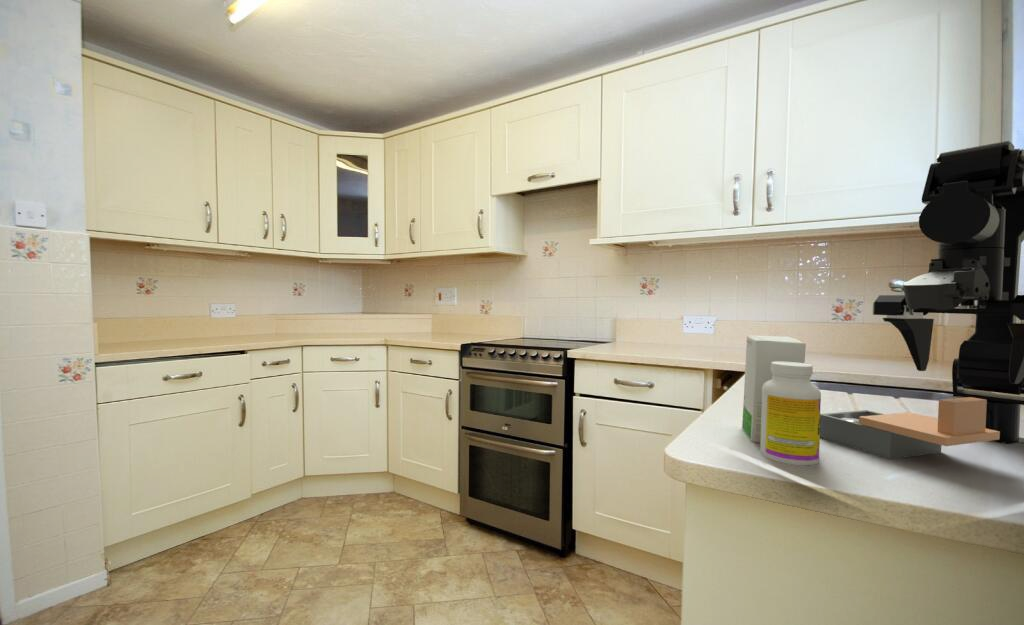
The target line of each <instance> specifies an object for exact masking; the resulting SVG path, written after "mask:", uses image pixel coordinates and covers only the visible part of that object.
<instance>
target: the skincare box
mask: <svg viewBox="0 0 1024 625" xmlns="http://www.w3.org/2000/svg"><path fill="white" fill-rule="evenodd" d="M806 347H807V345H806V343H805V342H802V341H800V340H799V339H797V338H793V337H790V336H783V335H782V336H779V335H777V336H775V335H757V334H756V335H754V334H752V335H751V334H748V335H746V348H745V351H746V352H745V366H744V367H745V368H744V385H743V386H744V387H743V388H744V389H743V407H742V420H741V421H742V424H741V425H742V426H741V428H742V430H743V432H744V433H745V434H746V436H747V437H748V438H749V440H750V441H751V442H753V443H760V442H761V410H762V386H763V385H764V383H765V382H767V381H769V380H771V379H772V375H773V374H772V373H771V372H772V371H771V362H776V361H784V362H798V363H805V362H806ZM805 364H806V363H805Z"/></svg>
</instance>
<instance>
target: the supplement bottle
mask: <svg viewBox="0 0 1024 625" xmlns="http://www.w3.org/2000/svg"><path fill="white" fill-rule="evenodd" d="M813 370H814V367H813V365H812V364H810V363H798V362H784V361H776V362H771V371H772V372H771V373H772V374H773V375H772V379H771V380H769V381H767V382H765V383H764V385H763V386H762V410H761V442H759V443H760V444H759V446H760V450H759V452H760V454H761V455H762V456H763V457H765V458H767V459H770V460H772V461H776V462H779V463H782V464H787V465H788V464H789V465H795V466H796V465H797V466H814V465H817V464H818V463H819V461H820V443H821V441H820V440H821V439H820V414H821V402H822V401H821V398H822V393H821V390H820V389H819V387H818V386H817V385H815V384H813V383H812V382H811V378H812V376H813V372H814V371H813Z"/></svg>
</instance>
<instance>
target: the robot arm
mask: <svg viewBox="0 0 1024 625" xmlns="http://www.w3.org/2000/svg"><path fill="white" fill-rule="evenodd" d="M921 203H922V204H924V205H925V206H924V207H923V209H922V210H921V213H920V215H919V216H918V224H919V229H920V231H921V233H923V235H924V236H925V237H926V238H927V239H929V240H931V241H934V242H936V243H938V244H937V245H938V246H937V250H938V251H937V258H932V259H930V263H929V265H928V271H927V273H924V274H921V275H918V276H915V277H913V278H912V279H910V280H907V281H906V282H903V283H902V289H903V293H904V294H900V295H898V294H896V295H895V294H893V295H891V294H890V295H889V294H887V295H886V294H885V295H882V294H880V295H878V296H877V298H876V299H875V300H874V301H873V303H872V315H873V316H886V317H882V320H883V322H885V323H890V324H891V325H893V326H894V327H895V329H897V330H898V331H899V333H900V334H901V336H902V337H903V339H904V341H905V344H906V346H907V348H908V351H909V353H910V356H911V359H912V360H913V363H914V365H915V368H916V370H917V371H918V372H925V371H927V368H928V365H929V361H930V353H931V346H932V345H931V344H932V338H933V329H934V322H935V319H934V318H929V317H928V318H926V317H925V318H924V316H927V315H928V314H957V315H958V314H960V315H975V317H976V318H975V329H974V332H973V333H972V334H971V335H970V336H969V337H968V338H967V339H965V340H964V341H963V342H962V343H961V344H960V345H959V351H958V357H956V358H954V359H953V362H952V367H951V370H952V371H951V378H952V379H951V380H952V396H953V397H954V398H965V397H973V398H979V399H985V400H987V407H986V429H990V430H995V431H1000V439H999V440H991V442H995V443H999V444H1004V445H1011V444H1017V443H1018V444H1020V443H1021V444H1024V437H1020V422H1021V406H1024V396H1021V395H1024V294H1019V285H1020V284H1019V282H1020V268H1021V267H1020V266H1021V252H1022V243H1023V242H1024V149H1023V148H1022V149H1021V148H1015V145H1014V144H1013V143H1012V142H1011V141H1009V140H1005V141H999V142H993V143H990V144H984V145H977V146H973V147H967V148H962V149H956V150H950V151H946V152H945V151H943V152H940V153H939V154H938V155H937V157H936V162H934V163H931V164H930V166H929V169H928V172H927V176H926V179H925V185H924V187H923V191H922V194H921ZM975 301H976V302H975ZM975 304H976V305H975ZM1017 319H1019V320H1020V322H1017Z"/></svg>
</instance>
